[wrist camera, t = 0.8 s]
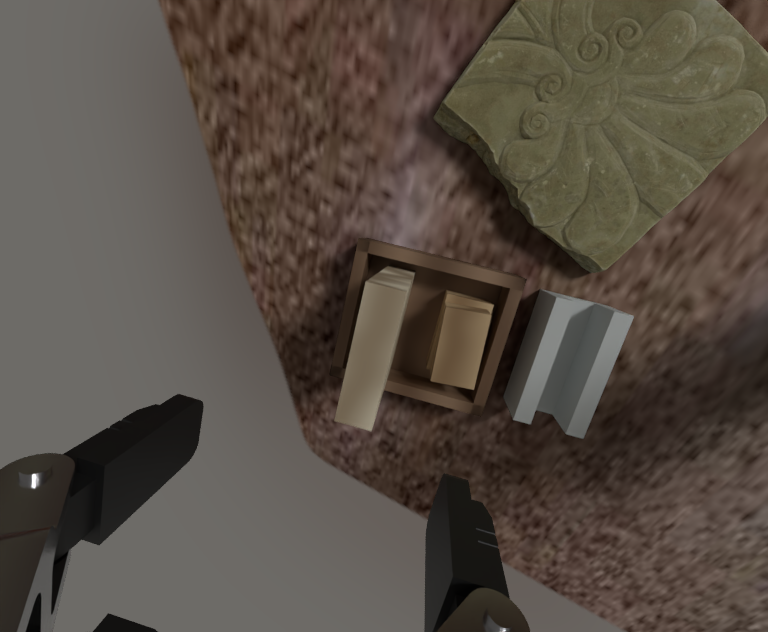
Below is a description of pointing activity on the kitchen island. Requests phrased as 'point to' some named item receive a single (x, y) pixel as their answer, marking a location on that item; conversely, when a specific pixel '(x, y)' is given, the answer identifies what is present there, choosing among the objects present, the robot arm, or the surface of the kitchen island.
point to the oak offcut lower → (462, 300)
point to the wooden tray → (430, 320)
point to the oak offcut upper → (460, 345)
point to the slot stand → (565, 360)
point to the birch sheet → (374, 345)
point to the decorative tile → (607, 112)
